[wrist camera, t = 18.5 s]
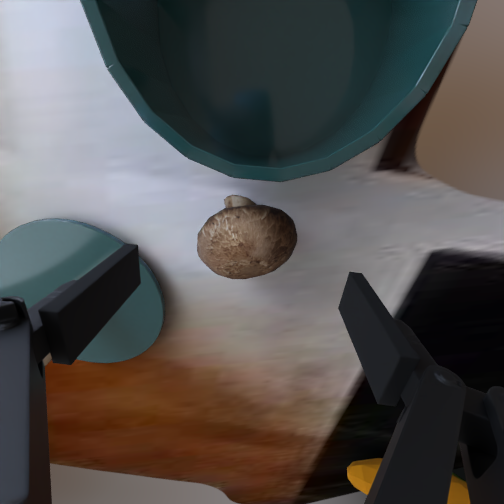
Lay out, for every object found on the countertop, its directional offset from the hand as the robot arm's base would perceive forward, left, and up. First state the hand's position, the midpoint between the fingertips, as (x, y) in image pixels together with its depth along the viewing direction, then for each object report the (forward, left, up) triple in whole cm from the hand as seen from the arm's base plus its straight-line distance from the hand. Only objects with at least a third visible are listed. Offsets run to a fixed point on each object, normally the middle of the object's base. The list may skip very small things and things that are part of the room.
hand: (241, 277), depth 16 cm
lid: (+9, -17, -8) cm, 20 cm away
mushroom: (0, 0, -8) cm, 8 cm away
